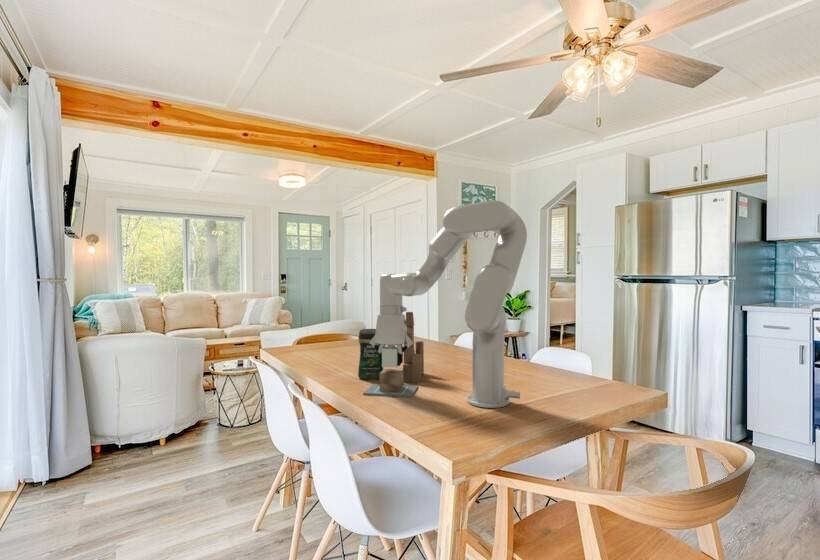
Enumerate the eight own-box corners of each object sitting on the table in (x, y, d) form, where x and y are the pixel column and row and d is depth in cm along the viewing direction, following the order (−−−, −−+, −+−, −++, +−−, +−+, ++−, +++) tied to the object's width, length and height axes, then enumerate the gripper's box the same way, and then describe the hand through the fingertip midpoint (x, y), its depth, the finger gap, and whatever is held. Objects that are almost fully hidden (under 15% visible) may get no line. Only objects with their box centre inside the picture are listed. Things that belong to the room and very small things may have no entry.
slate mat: (418, 387, 146) (418, 385, 146) (411, 397, 134) (411, 395, 134) (373, 385, 149) (373, 383, 149) (363, 394, 137) (363, 392, 137)
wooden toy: (421, 382, 152) (421, 313, 152) (402, 382, 153) (402, 313, 153) (423, 372, 168) (423, 310, 168) (407, 372, 168) (406, 310, 168)
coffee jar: (356, 380, 157) (356, 330, 157) (360, 375, 165) (359, 327, 164) (382, 380, 156) (382, 330, 156) (384, 375, 164) (384, 327, 164)
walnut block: (402, 387, 144) (402, 369, 144) (398, 392, 138) (398, 374, 138) (384, 386, 145) (384, 368, 145) (379, 391, 139) (379, 373, 139)
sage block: (399, 364, 144) (400, 344, 143) (396, 367, 139) (396, 347, 139) (385, 363, 144) (385, 344, 144) (382, 366, 140) (381, 346, 139)
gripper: (418, 310, 143) (418, 363, 144) (369, 309, 147) (369, 361, 147) (414, 312, 136) (414, 368, 136) (363, 311, 139) (363, 366, 139)
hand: (391, 364), depth 142 cm, fingers closed on sage block, 5 cm apart
